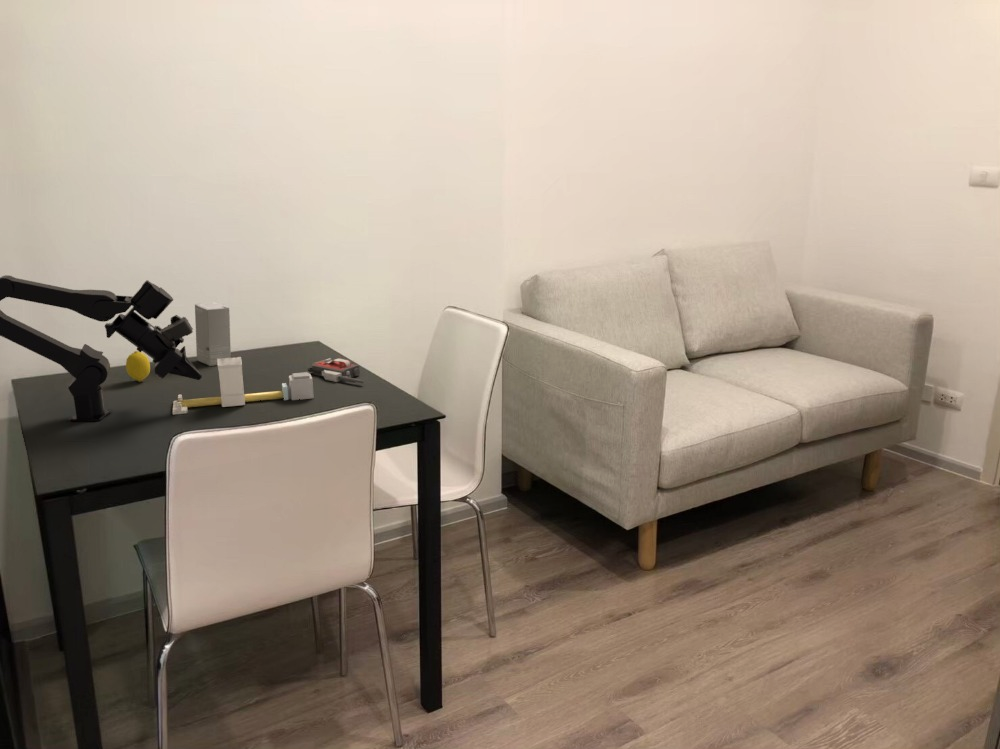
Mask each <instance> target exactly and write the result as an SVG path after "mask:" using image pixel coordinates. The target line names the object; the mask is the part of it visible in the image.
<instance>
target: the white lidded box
mask: <svg viewBox="0 0 1000 749" xmlns="http://www.w3.org/2000/svg"><path fill="white" fill-rule="evenodd" d="M217 362H218V365H217V369H218V376H219V378H218V379H219V386H220V389H219V390H220V397H221V400H222V404H221V407H222V408H226V407H236V406H237V407H238V406H245V405H246V402H245V397H244V394H245V388H244V379H243V378H244V377H243V363H242V362H243V361H242V357H241V356H236V357H234V356H233V357H231V358H221V359H217Z"/></svg>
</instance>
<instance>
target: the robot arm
mask: <svg viewBox="0 0 1000 749" xmlns="http://www.w3.org/2000/svg"><path fill="white" fill-rule="evenodd" d="M6 298H11V299H16V300H17V299H18V300H22V301H26V302H27V301H28V302H33V303H37V304H42V305H47V306H51V307H57V308H62V309H68V310H70V311H73V312H75V313H77V314H79V315H82V316H84V317H87V318H89V319H92V320H95V321H98V322H103V323H104V322H106V323H105V324H104V328H105V331H106V332H105V333H106V338H107V339H109V338H111V337H112V336H113V335H114V333H117V334H118V335H119V336H121V337H122V338H124V339H126V340H127V341H128V342H129V343H131V345H133V346H135V348H136V351H138V352H141V353H143V354H145V355H146V356H147V357H149V358H151V359H152V363H154V364H155V365H154V372H155V375H157V376H158V377H159V378H161V379H162V380H163V379H164V378H165V377H166V376H167V375H168V374H171V375H176V376H180V377H183V378H184V377H185V378H188V379H192V380H193V379H194V380H195V381H196V380H197V381H200V380H201V379H202V376H203V375H202V374H201V372H200V371H199V370H198V369H197V368H196V366H195V365H194V364H193V363H192V362H191V360H190V359H189V358H188V357H187V354H186V352H187V351H186V346H185V345H183V346H182V347H181V349H178V348H177V347H178V346H179V345H180V344H183V343H184V341H185V339H184V337H186V336H190V335H191V334H192V333H193V332H194V331H193V330H194V328H193V327H192V325H191V324H190V322H189V319H187V317H186V316H183V317H181V316H179V315H178V314H175V315H174V316H172V317H170V323H169V324H168V325H167V326H165V327H163V328H162V327H160V326H159V325H153V324H151V323H150V322H148V321H147V320H151V319H154V320H157V319H158V318H159V317H160V316H161V314H162V313H163V312H164V311H165V310H166V309H167V308H168V306H169V305H170V304H172V302H173V301H174V297H172V296H171V294H169V293H168V292H167V290H165V289H164V288H163V287H159V286H158V285H157V284H155V283H152V282H151V281H150V280H148V279H146V280H145V281H144V282H143V284H142V285H141V287H140V288H139V289H138V290H137V291H136V293H135V294H133V296H131V295H130V296H129V295H119V294H118V295H116V294H115V293H114V292H112V291H110V290H104V289H71V288H66V287H61V286H56V285H50V284H46V283H42V282H37V281H32V280H27V279H22V278H18V277H14V276H12V275H3V276H2V275H1V277H0V302H1V301H3V300H4V299H6ZM131 307H132V308H131ZM128 310H129V311H128ZM127 311H128V312H127ZM126 312H127V313H126ZM123 313H126V314H123ZM116 315H117V317H116V318H115V316H116ZM114 318H115V319H114ZM112 319H114V320H113V321H112V322H109V323H108V321H110V320H112ZM0 337H2V338H4V339H6V340H8V341H10V342H12V343H14V344H16V345H19V346H21V347H23V348H25V349H28V350H29V351H31V352H33V353H35V354H37V355H39V356H41V357H43V358H46V359H47V360H49V361H51V362H54V363H56V364H58V365H60V366H61V367H62V368H63V369H64V370H65V371H67V372H68V373H69V374H70V375H71V376H72V377H73V378H72V380H71V382H70V384H69V386H68V390H69V392H70V394H71V396H72V397H73V403H74V404H73V405H74V410H75V414H74V415H73V416H71V417H70V418H69V421H70V422H97V421H98V422H99V421H101V420H102V419H104V418H105V417H106V416H108V415H109V414H110V413H112V409H108V408H107V409H106V408H105V405H104V395H103V389H102V384H103V383H105V381H106V380H107V377H108V376H109V373H110V370H111V363H110V361H109V359H108V357H106V356H105V355H103V353H104V351H102V350H100V351H99V350H97V349H94V348H93V347H91V346H90V345H88V344H86V343H85V344H83V346H82V348H78V347H72V346H71V345H70V346H69V345H68V344H67V343H66V344H65V343H64V342H61V341H59V340H58V339H55V338H53V337H51V336H49V335H48V334H46V333H44V332H41V331H40V330H38V329H35V328H33V327H32V326H29V325H28V324H25V323H23V322H21V321H19V320H18V319H16V318H13V317H12V316H9V315H7V314H6V313H4V312H3V311H2V310H1V309H0Z"/></svg>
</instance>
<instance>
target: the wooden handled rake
mask: <svg viewBox="0 0 1000 749" xmlns="http://www.w3.org/2000/svg"><path fill="white" fill-rule="evenodd" d="M244 397H245V403H249V402H258V401H260V400H261V401H271V400H280V399H283V398H284V396H283V391H282V390H277V391H264V392H256V393H255V392H253V393H244ZM172 404H173V405H172V415H182V414H188V408H197V407H209V406H216V405H217V406H218V405H222V400H221V396H212V397H211V396H210V397H202V398H191V399H183V395H182V394H178V395H177V400H173V403H172Z"/></svg>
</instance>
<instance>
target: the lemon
mask: <svg viewBox="0 0 1000 749" xmlns="http://www.w3.org/2000/svg"><path fill="white" fill-rule="evenodd" d="M125 369H126V373H127V374H128V376H129V377H130V378H131V379H133V380H136V381H137V382H139V383H141V382H143V380H144V379H147V377H148V376H149V375H150V372H151V363H150V360H149V358H148V355H147V354H146V353H144V352H142V351H141V352H139V351H138V350H135V351H133V352H132V353H131V354H129V355H128V357H127V358H126V361H125Z"/></svg>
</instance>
